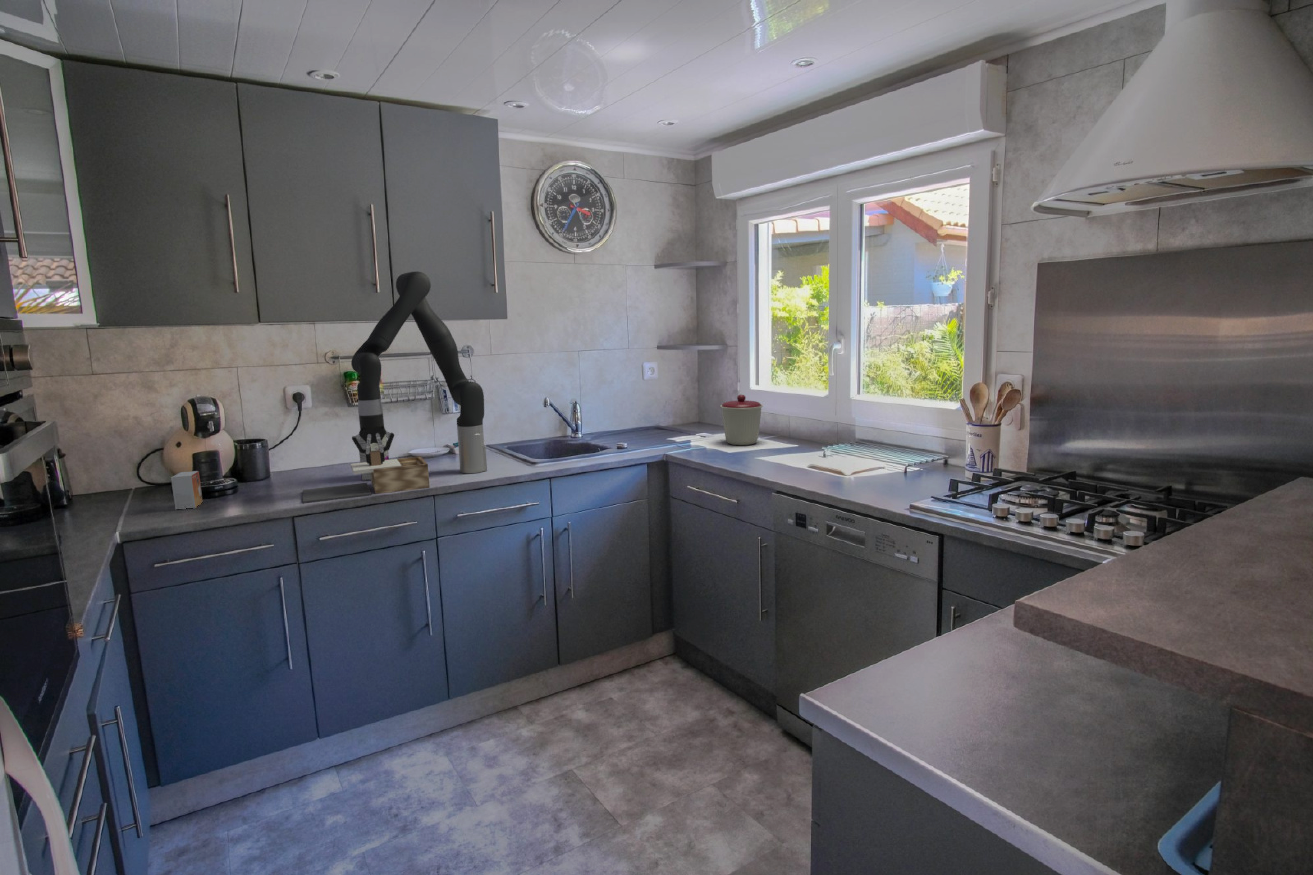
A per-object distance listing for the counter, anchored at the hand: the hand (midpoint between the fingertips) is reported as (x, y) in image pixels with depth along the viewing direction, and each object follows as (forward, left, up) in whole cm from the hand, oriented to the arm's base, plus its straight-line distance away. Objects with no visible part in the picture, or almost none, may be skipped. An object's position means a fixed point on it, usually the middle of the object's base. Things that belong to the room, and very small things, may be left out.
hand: (375, 463), depth 245 cm
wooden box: (-7, 0, -9) cm, 11 cm away
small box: (+55, -6, -9) cm, 56 cm away
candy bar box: (-1, -20, -9) cm, 22 cm away
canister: (-147, -5, -9) cm, 147 cm away
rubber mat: (+13, 0, -8) cm, 15 cm away
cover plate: (0, 0, -1) cm, 1 cm away
